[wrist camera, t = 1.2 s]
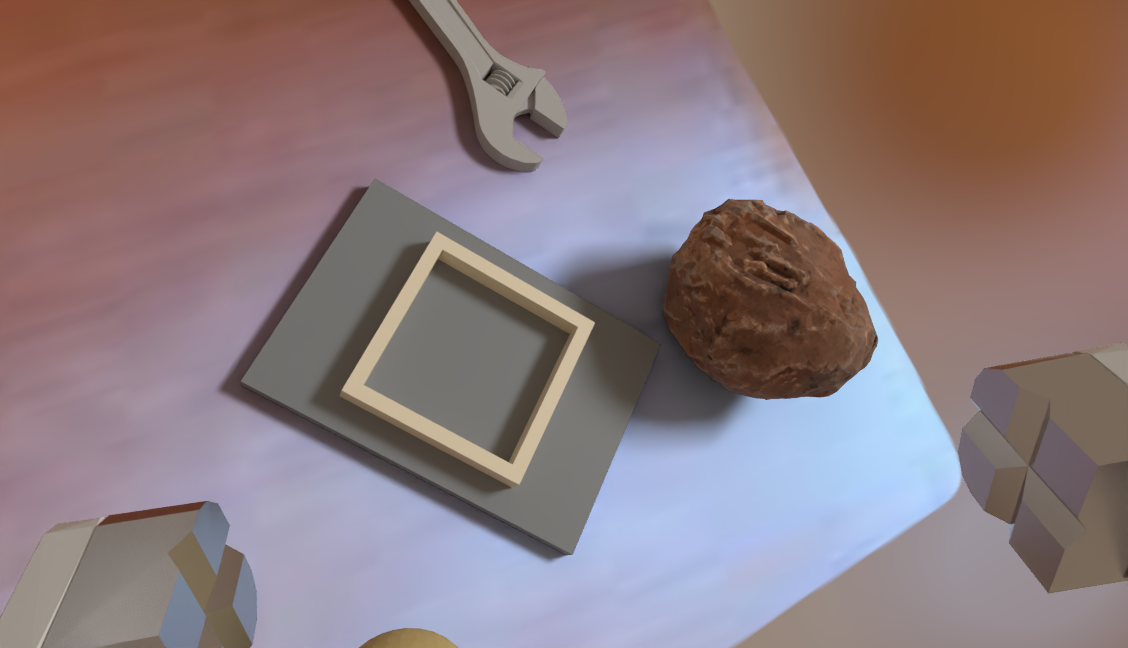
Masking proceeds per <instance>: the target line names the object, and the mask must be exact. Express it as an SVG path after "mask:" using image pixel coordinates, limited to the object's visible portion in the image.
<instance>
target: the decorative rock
mask: <svg viewBox="0 0 1128 648" xmlns="http://www.w3.org/2000/svg"><path fill="white" fill-rule="evenodd" d="M662 312H663V314H664V316H665V319H666V321H667V324H668V327H669V330H670V331H671V332H672V334H673V335H674V336H675V337H676V338H677V340H678V342H679V344H680V345H681V347H682V348H683V349H684V350H685V352H686V354H687V356H689V357H691V358H692V360H693V361H694V363H695V364H696V366H697V367H698V368H699V369H701V370H702V371H704V372H705V373H706V374H707V375H708V376H709V377H710V378H711V379H713V380H715V381H717V382H718V383H720V384H722V385H723V386H724V387H725V388H726V389H727V390H729V391H731V392H734V393H738V394H742V395H746V396H749V397H753V398H761V399H766V400H768V399H781V398H785V399H788V398H798V397H826V396H830V395H831V394H833V393H835V392H837V391H838V390H839V389H840V388H841V387H842V386H843V385H844V384H845V383H846V382H847V381H848V380H850V379H851V378H852V377H854V376H855V375H856V374H857V373H858V372H859V371H860V370H862V369H863V368H865V367H866V366H867V364H868V363H869V362H870V360H871V357H872V354H873V352H874V350H875V348H876V347H877V343H878V337H877V334H876V331H875V329H874V326H873V323H872V320H871V317H870V315H869V311H868V308H867V305H866V302H865V300H864V298H863V297H862V295H861V294H860V293H859V291H858V290H857V288H856V281H854V280H853V279H852V278H851V277H850V276H849V274H848V271H847V269H846V266H845V262H844V258H843V255H842V251H841V249H840V248H839V247H838V246H837V244H836V243H835V242H833V241H832V240H831V239H830V238H829V237H827V236H826V235H825V233H824V232H823V231H822V230H820V229H819V228H818V227H817V226H815V225H814V224H812V223H809V222H806V221H804V220H803V219H801V218H799V217H798V216H796V215H795V214H793V213H790V212H788V211H779V210H776V209H774V208H772V207H770V206H767V205H765V203H764V202H763V200H733V199H728V200H727V201H726V202H724V203H723V204H722V205H720V206H719V207H717V208H715V209H713V210H710V211H707V212H704V214H703V217H702V219H701V221H700V222H698V223H697V224H696V225H695V226H694V228H693V229H692V230H691V232H690V234H689V237H688V239H687V240H686V241H685V242H684V243H683V245H682V246H681V248H680V249H679V250H678V251H677V252H676V253H675V254H674V255H673V257H672V260H671V265H670V270H669V275H668V284H667V287H666V292H665V298H664V303H663V310H662Z"/></svg>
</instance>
